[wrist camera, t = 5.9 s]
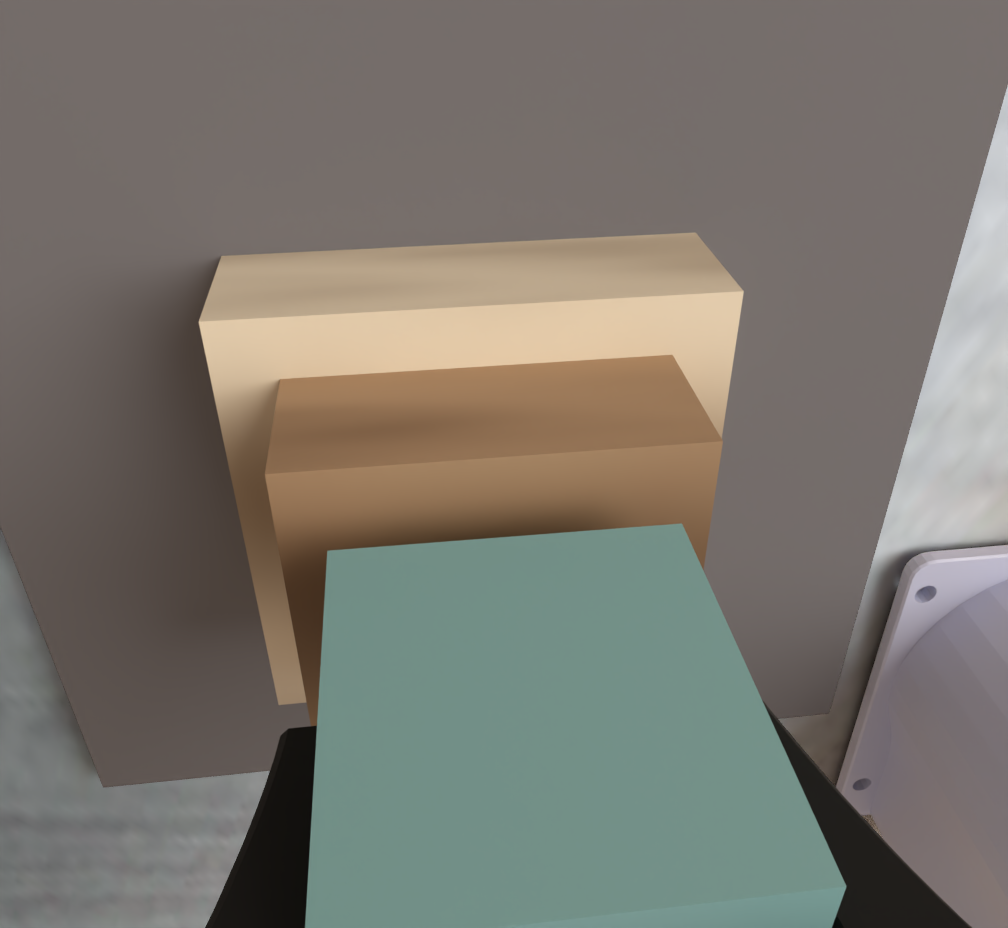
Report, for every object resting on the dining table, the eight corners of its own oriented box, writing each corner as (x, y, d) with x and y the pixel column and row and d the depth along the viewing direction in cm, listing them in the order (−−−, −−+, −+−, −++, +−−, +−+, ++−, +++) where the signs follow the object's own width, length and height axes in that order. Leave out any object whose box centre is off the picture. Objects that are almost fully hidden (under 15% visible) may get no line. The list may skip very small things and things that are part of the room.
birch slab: (655, 583, 20) (687, 666, 18) (288, 614, 20) (278, 704, 18) (695, 232, 16) (744, 291, 14) (221, 255, 15) (198, 321, 13)
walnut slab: (642, 633, 18) (677, 738, 16) (325, 663, 17) (319, 774, 15) (672, 354, 14) (723, 441, 12) (279, 379, 14) (264, 474, 12)
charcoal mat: (821, 698, 24) (829, 713, 24) (108, 769, 22) (103, 787, 22) (1042, -114, 14) (1063, -113, 14) (-224, -98, 12) (-245, -95, 12)
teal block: (651, 752, 14) (763, 1117, 10) (360, 781, 14) (355, 1174, 10) (681, 523, 12) (846, 886, 8) (326, 550, 11) (303, 950, 7)
